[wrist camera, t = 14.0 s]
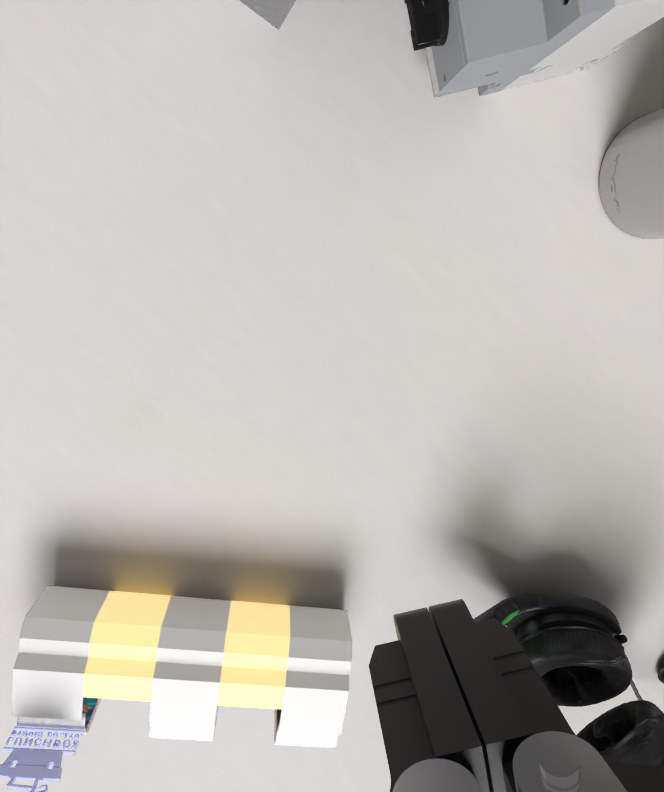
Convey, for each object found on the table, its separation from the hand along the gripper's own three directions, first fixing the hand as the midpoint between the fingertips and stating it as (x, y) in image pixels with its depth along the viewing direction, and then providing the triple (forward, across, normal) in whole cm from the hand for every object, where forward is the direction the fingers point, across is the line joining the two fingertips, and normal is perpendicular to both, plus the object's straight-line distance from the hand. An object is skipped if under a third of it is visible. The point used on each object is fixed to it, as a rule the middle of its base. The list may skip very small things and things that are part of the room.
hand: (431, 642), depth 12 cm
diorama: (+35, +16, +23) cm, 45 cm away
